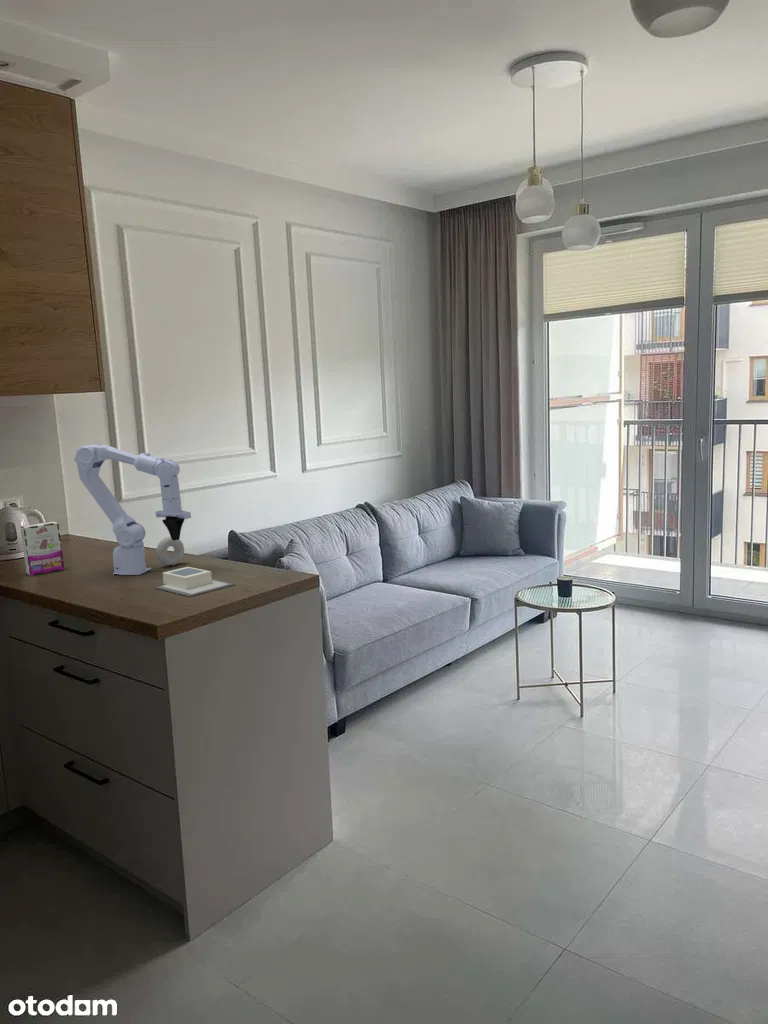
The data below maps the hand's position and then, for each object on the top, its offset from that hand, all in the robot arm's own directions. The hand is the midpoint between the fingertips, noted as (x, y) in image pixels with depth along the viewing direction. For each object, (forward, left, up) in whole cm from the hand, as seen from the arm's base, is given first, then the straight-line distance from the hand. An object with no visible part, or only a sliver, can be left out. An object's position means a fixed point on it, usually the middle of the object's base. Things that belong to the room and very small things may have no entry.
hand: (175, 539), depth 246 cm
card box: (+6, -14, -8) cm, 18 cm away
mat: (+15, -19, -10) cm, 26 cm away
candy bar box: (-48, -2, -11) cm, 49 cm away
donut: (-7, +8, -11) cm, 15 cm away
